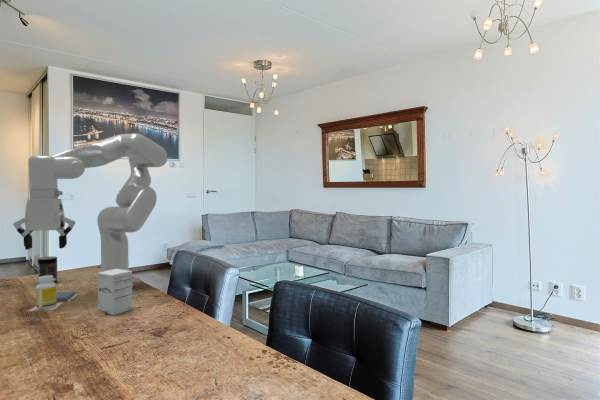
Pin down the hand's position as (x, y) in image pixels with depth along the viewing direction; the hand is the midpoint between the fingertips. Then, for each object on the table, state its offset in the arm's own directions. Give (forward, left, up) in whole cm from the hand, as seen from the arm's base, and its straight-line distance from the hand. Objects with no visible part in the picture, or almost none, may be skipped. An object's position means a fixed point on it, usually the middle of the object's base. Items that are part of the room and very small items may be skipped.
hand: (45, 248), depth 124 cm
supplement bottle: (0, 0, -19) cm, 19 cm away
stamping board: (0, -4, -20) cm, 20 cm away
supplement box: (-22, +6, -20) cm, 30 cm away
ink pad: (0, -9, -19) cm, 21 cm away
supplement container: (+14, -36, -20) cm, 44 cm away
